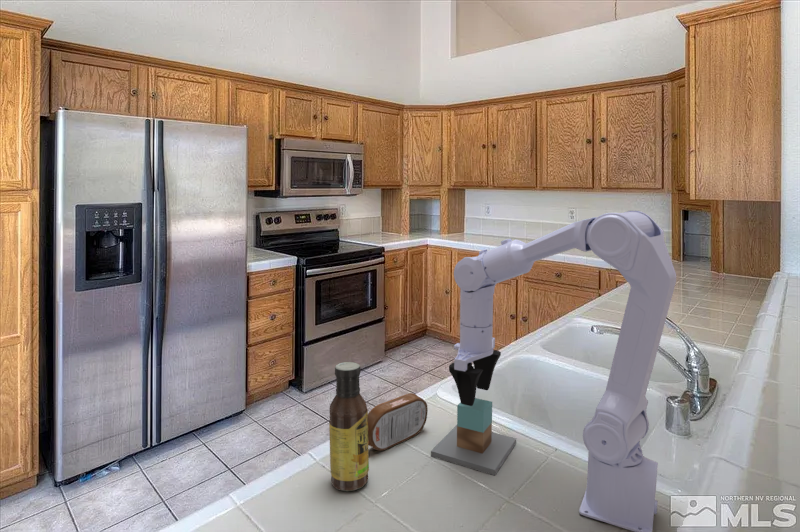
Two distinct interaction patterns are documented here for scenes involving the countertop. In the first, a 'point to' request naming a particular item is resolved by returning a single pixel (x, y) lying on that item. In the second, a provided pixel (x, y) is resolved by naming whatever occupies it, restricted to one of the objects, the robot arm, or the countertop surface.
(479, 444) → the walnut brick
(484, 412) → the teal brick
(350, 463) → the sauce bottle
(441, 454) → the baseplate
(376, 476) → the countertop surface
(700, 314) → the countertop surface
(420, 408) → the tin
